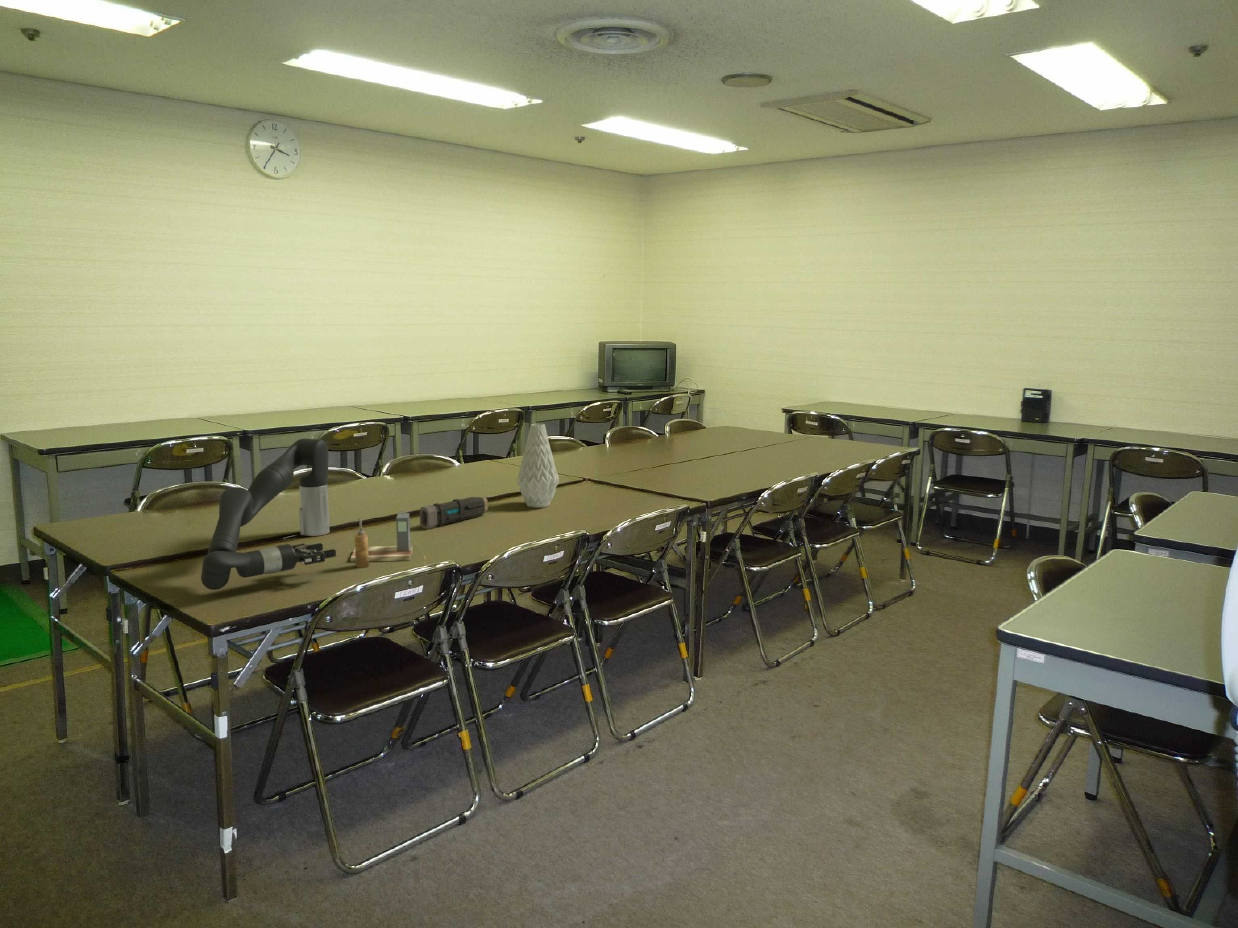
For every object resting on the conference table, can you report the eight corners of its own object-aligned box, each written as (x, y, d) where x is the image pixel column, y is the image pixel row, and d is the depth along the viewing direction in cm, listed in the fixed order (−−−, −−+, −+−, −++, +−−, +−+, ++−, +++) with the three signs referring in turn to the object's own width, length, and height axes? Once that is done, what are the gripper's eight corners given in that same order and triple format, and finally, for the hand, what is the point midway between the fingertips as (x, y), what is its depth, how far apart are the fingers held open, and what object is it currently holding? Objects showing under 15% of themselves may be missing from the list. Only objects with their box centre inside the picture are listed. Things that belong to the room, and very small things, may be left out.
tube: (492, 523, 340) (430, 529, 316) (480, 525, 344) (418, 530, 321) (490, 495, 340) (427, 498, 317) (478, 497, 345) (415, 500, 321)
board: (350, 562, 279) (350, 557, 279) (356, 551, 291) (356, 546, 290) (409, 560, 282) (409, 555, 281) (412, 549, 293) (412, 545, 293)
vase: (565, 507, 354) (565, 426, 348) (525, 511, 347) (525, 428, 341) (550, 499, 369) (550, 420, 363) (512, 502, 362) (511, 422, 356)
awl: (355, 567, 273) (353, 520, 270) (356, 564, 277) (354, 517, 274) (367, 567, 274) (365, 520, 271) (369, 563, 277) (367, 517, 274)
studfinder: (397, 551, 286) (396, 518, 284) (399, 545, 292) (398, 513, 290) (408, 551, 286) (407, 517, 284) (410, 545, 293) (409, 513, 291)
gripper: (285, 551, 249) (339, 542, 260) (264, 541, 259) (317, 532, 270) (286, 577, 250) (340, 566, 262) (265, 566, 260) (318, 556, 272)
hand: (328, 549), depth 266 cm, fingers open, 8 cm apart
